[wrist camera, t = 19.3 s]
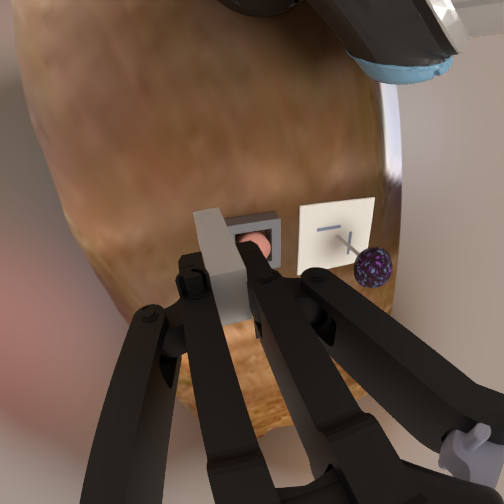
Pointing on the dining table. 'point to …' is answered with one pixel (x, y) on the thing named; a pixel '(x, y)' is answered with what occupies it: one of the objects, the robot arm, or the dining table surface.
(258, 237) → the button
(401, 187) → the dining table surface
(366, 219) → the paper pad
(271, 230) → the button housing
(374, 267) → the lollipop
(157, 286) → the dining table surface
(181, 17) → the dining table surface
